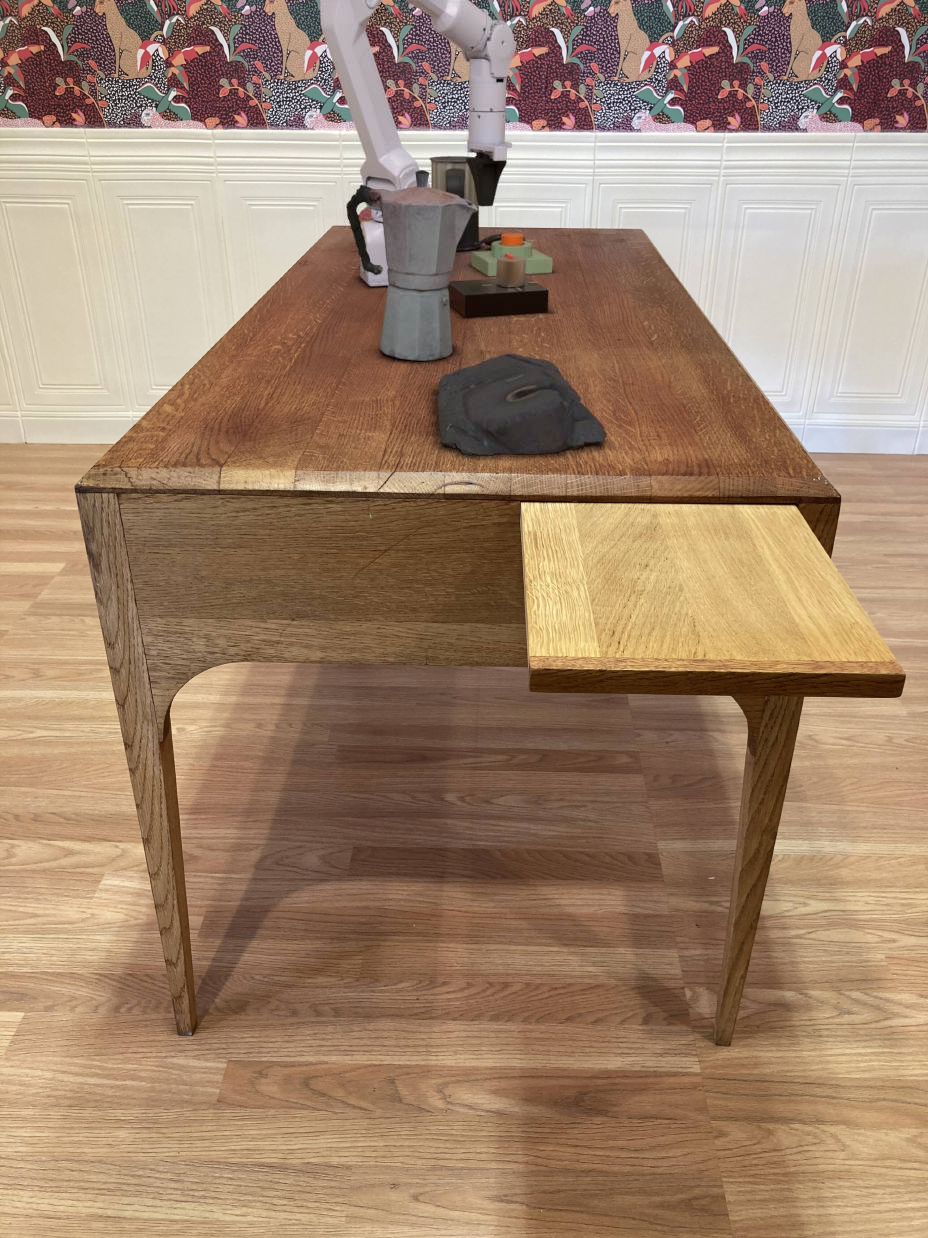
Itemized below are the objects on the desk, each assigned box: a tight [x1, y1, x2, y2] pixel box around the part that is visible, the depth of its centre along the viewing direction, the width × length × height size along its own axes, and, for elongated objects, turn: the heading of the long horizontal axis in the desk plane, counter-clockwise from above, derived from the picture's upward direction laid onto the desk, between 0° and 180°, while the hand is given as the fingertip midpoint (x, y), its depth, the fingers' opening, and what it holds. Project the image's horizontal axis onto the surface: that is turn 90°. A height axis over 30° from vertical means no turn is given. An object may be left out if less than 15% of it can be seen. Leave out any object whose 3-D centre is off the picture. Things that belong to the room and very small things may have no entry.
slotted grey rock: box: [436, 352, 607, 456], centre depth 95 cm, size 15×22×5 cm
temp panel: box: [447, 276, 550, 319], centre depth 135 cm, size 12×9×3 cm
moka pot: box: [345, 169, 478, 362], centre depth 110 cm, size 10×15×20 cm, turn 78°
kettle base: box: [471, 240, 554, 277], centre depth 158 cm, size 11×9×4 cm
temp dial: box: [495, 253, 526, 287], centre depth 133 cm, size 4×4×4 cm
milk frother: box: [429, 155, 526, 251], centre depth 171 cm, size 14×16×15 cm
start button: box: [500, 232, 524, 246], centre depth 157 cm, size 4×4×2 cm
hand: (485, 205), depth 156 cm, fingers closed
